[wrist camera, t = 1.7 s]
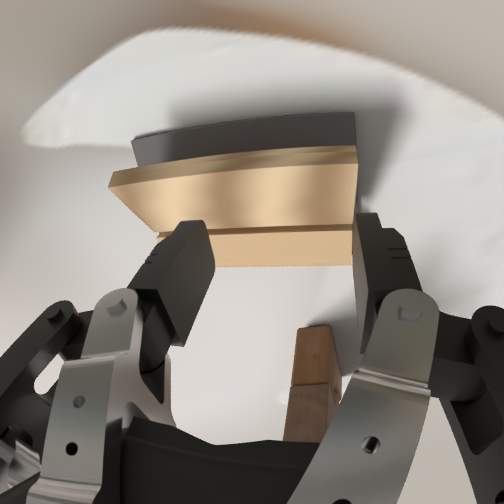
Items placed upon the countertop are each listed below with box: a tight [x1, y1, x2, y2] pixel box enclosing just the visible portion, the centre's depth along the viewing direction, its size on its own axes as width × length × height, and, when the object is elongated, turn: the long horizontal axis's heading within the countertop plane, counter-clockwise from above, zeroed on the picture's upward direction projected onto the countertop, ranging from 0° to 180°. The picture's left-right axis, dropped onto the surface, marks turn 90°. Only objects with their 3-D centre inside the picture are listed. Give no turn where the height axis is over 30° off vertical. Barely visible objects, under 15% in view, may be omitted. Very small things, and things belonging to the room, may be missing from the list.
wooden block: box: [283, 325, 342, 446], centre depth 27 cm, size 4×11×18 cm, turn 19°
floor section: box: [131, 112, 357, 267], centre depth 24 cm, size 17×12×2 cm
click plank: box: [108, 145, 358, 232], centre depth 21 cm, size 16×7×1 cm
